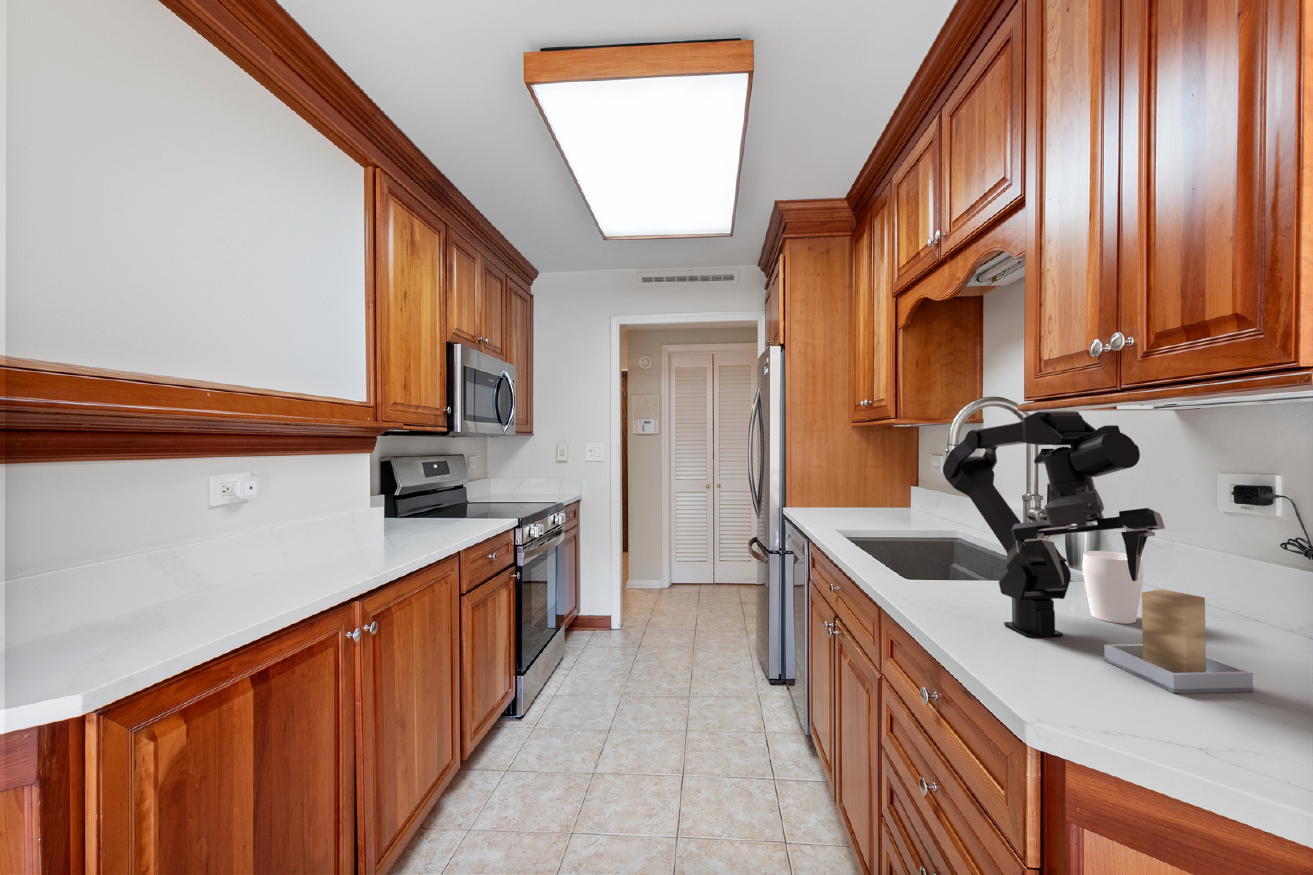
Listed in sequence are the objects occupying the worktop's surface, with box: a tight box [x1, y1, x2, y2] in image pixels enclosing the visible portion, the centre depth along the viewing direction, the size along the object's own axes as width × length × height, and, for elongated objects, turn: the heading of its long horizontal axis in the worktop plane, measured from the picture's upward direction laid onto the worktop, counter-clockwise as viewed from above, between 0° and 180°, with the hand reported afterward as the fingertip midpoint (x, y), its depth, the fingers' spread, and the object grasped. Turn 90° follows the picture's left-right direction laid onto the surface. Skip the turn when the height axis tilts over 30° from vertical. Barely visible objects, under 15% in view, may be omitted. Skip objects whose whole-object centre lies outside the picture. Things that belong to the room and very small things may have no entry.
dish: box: [1103, 643, 1254, 694], centre depth 79 cm, size 11×11×2 cm
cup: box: [1081, 550, 1145, 625], centre depth 105 cm, size 9×9×12 cm
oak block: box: [1141, 588, 1207, 673], centre depth 79 cm, size 5×5×11 cm
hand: (1096, 582), depth 85 cm, fingers open, 9 cm apart
